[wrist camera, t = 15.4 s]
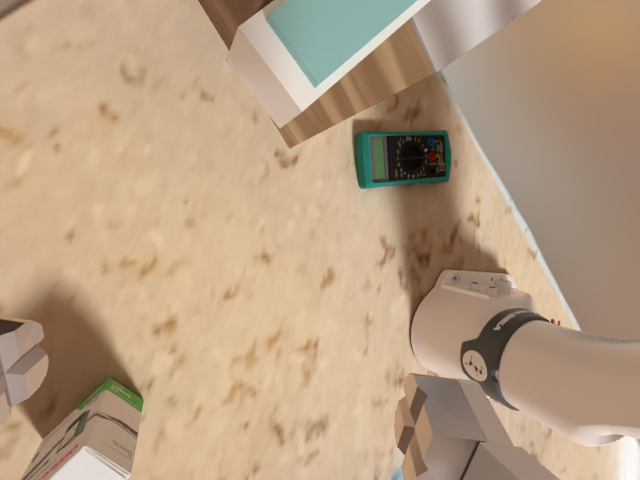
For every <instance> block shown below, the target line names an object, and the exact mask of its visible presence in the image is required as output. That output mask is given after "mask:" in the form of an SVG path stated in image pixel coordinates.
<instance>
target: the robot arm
mask: <svg viewBox="0 0 640 480" xmlns="http://www.w3.org/2000/svg"><path fill="white" fill-rule="evenodd" d="M453 277H454V278H453ZM43 338H44V333H43V328H42V324H40V323H38V322H36V321H33V320H26V319H20V318H14V317H8V316H2V315H0V426H1V425H2V424H3V423H4V422H5V421H6V420H7V419H8V418H9V417H10V416H11V409H12V406H14V405H16V404H18V403H20V402H22V401H24V400H26V399H28V398H29V397H30V396H31V395H32V394H33V393H34V392H35V391H36V390H37V389H38V388H39V387H40V385H41V383H42V382H43V380H44V378H45V376H46V374H47V370H48V364H49V361H48V355H47V353H46V352H45V350H44V349H43V348H42V347H41V346H40V345H39V343H40V342H41V341H42V340H43ZM411 344H412V349H413V352H414V354H415V357H416V358H417V360H418V361H419V363H420V364H421V365H422V366H423V367H424V368H426V369H428V370H430V371H432V372H434V373H436V374H437V375H438V377H437V376H429V375H422V374H414V373H409V374H408V376H407V377H406V380H405V383H404V386H403V387H404V391H405V395H406V396H405V397H404V398H402V399H401V400H399V401H398V405H397V409H396V412H395V424H394V426H395V437H396V443H397V447H398V448H399V449H400V450H401V452H402V453H403V454H404V455H405V457H404V460H403V463H402V466H401V468H402V472H403V477H404V480H559V479H558V478H557V477H556V476H555V475H553V474H552V473H551V472H550V471H549V470H548V469H546V468H545V467H544V466H543V465H542V464H540V463H539V462H538V461H537V460H536V459H535V458H533V457H532V456H531V455H530V454H529V453H527V452H526V451H525V450H524V449H523V448H520V447H514V445H513V443H512V441H511V440H510V438H509V436H508V434H507V432H506V431H505V429H504V427H503V425H502V423H501V421H500V420H499V418H498V416H497V414H496V412H495V411H494V409H493V407H492V405H491V403H490V401H489V400H488V398H489V397H490V398H492V399H494V401H495V402H497V403H499V404H501V405H503V406H506V407H508V408H510V409H512V410H517V411H522V412H524V413H525V414H527V415H529V416H530V417H532V418H534V419H536V420H537V421H539V422H541V423H542V424H544V425H546V426H548V427H549V428H551V429H553V430H554V431H556V432H558V433H560V434H561V435H563V436H565V437H567V438H568V439H570V440H572V441H574V442H576V443H578V444H581V445H586V446H602V445H606V444H610V443H612V442H615V441H617V440H619V439H621V438H622V437H624V436H629V437H633V438H636V439H640V340H620V339H612V338H606V337H601V336H597V335H593V334H589V333H585V332H581V331H577V330H574V329H570V328H567V327H563V326H560V321H558V325H556V324H555V321H554V319H551V322H550V321H548V320H547V319H545V318H544V317H542V316H540V314H538V313H537V308H536V305H535V302H534V300H533V298H532V297H531V295H530V294H528V293H526V292H522V291H519V290H517V286H516V283H515V281H514V279H513V277H512V276H511V275H509V274H505V273H493V272H478V271H463V270H444V271H442V272H441V274H440V276H439V278H438V280H437V282H436V284H435V286H434V288H433V289H432V290H431V291H430V292H429V293H428V295H427V296H426V297H425V298H424V299H423V300H422V302H421V303H420V305H419V307H418V309H417V311H416V313H415V316H414V319H413V323H412V328H411Z"/></svg>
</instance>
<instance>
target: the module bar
mask: <svg viewBox="0 0 640 480" xmlns="http://www.w3.org/2000/svg"><path fill="white" fill-rule="evenodd" d="M429 1H431V0H274V1H272V2H271V3H270V4H268V5H267V6H266V7H264V8H263V9H262V10H260V11H259V12H257V13H256V14H255V15H253V16H252V17H251V18H249V19H248V20H247V21H245V22H244V23H243V24H241V25H240V26H239V27H238V29H237V32H236V34H235V37H234V40H233V43H232V45H231V48H230V51H229V54H228V56H227V59H226V62H227V63H228V64H229V65H230V67H231V68H232V69H233V70H234V72H235V73H236V74H237V75H238V77H239V78H240V79H241V80H242V82H243V83H244V84H245V86H246V87H247V88H248V89H249V91H250V92H251V93H252V94H253V96H254V97H255V98H256V99H257V101H258V102H259V103H260V104H261V106H262V107H263V108H264V110H265V111H266V112H267V113H268V115H269V116H270V117H271V118H272V120H273V121H274V122H275V123H276V125H277V126H278V127H279V128H281V127H283V126H284V125H285V124H287V123H288V122H289V121H291V120H292V119H293V118H295V117H296V116H297V115H299V114H300V113H301V112H303V111H304V110H305V109H306V108H307V107H309V106H310V105H311V104H312V103H313V102H314V101H315V100H317V99H318V98H319V97H320V96H321V95H322V94H323V93H325V92H326V91H327V90H328V89H329V88H330V87H332V86H333V85H334V84H335V83H336V82H337V81H338V80H340V79H341V78H342V77H343V76H344V75H345V74H347V73H348V72H349V71H350V70H351V69H352V68H353V67H355V66H356V65H357V64H358V63H359V62H360V61H361V60H363V59H364V58H365V57H366V56H367V55H368V54H370V53H371V52H372V51H373V50H374V49H375V48H376V47H378V46H379V45H380V44H381V43H382V42H383V41H385V40H386V39H387V38H388V37H389V36H390V35H391V34H393V33H394V32H395V31H396V30H397V29H398V28H399V27H401V26H402V25H403V24H404V23H405V22H406V21H408V20H409V19H410V18H411V17H412V16H413V15H414V14H416V13H417V12H418V11H419V10H420V9H421V8H423V7H424V6H425V5H426V4H427V3H428V2H429Z"/></svg>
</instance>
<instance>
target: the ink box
mask: <svg viewBox="0 0 640 480" xmlns="http://www.w3.org/2000/svg"><path fill="white" fill-rule="evenodd" d="M142 407H143V399H141V398H140V397H138V396H137V395H136V394H134V393H133V392H132V391H130V390H129V389H127V388H126V387H124V386H123V385H121V384H120V383H118V382H117V381H115V380H113V379H112V378H108V379H107V380H106V381H105V382H104V383H103V384H102V385H101V386H99V387H98V388H97V389H96V390H95V391H94V392H93V393H92V394H91V395H90V396H89V397H88V398H87V399H85V400H84V401H83V402H82V403H81V404H80V405H79V406H78V407H77V408H76V409H75V410H74V411H73V412H72V413H71V414H69V415H68V416H67V417H66V418H65V419H64V420H63V421H62V422H61V423H60V424H59V425H58V426H57V427H56V428H54V429H53V430H52V431H51V432H50V433H49V434H48V435H47V436H46V437H45V438H44V439H43V441H42V442H41V444H40V446H39V448H38V450H37V451H36V453H35V455H34V457H33V458H32V460H31V462H30V464H29V466H28V467H27V469H26V471H25V473H24V475H23V476H22V478H21V480H127V479H128V478H129V477H130V476H131V471H132V466H133V461H134V455H135V449H136V443H137V436H138V431H139V424H140V418H141V412H142Z"/></svg>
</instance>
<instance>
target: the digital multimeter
mask: <svg viewBox="0 0 640 480" xmlns="http://www.w3.org/2000/svg"><path fill="white" fill-rule="evenodd" d="M356 164H357V173H358V180H359V186H360V188H362V189H365V188H373V187H381V186H388V185H397V184H409V183H438V182H447V181H448V180H449V176H450V169H451V149H450V143H449V138H448V134H447V131H445V130H443V131H430V132H376V131H364V132H362V133H359V134H357V135H356ZM436 177H437V178H436Z"/></svg>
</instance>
